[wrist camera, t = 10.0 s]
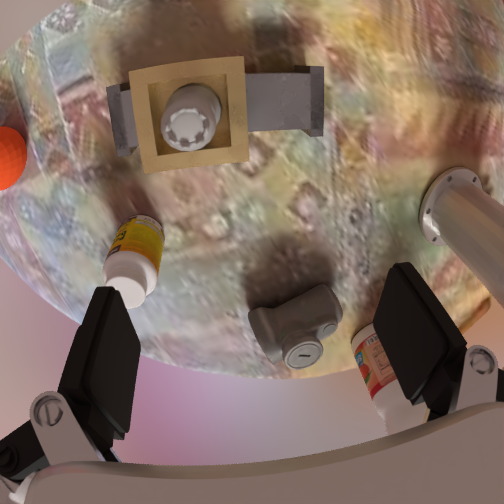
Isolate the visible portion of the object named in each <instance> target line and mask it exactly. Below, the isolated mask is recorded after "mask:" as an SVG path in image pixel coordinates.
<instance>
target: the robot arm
mask: <svg viewBox="0 0 504 504" xmlns="http://www.w3.org/2000/svg"><path fill="white" fill-rule="evenodd" d="M419 222H420V228H421V231H422V233H423V235H424V236H425V238H426V239H427V240H428V241H429V242H430V243H432V244H434V245H437V246H444V245H448V246H449V248H450V249H451V250H452V251H453V252H454V253H455V254H456V255H457V256H458V257H459V258H460V259H461V260H462V261H463V262H464V263H465V265H466V266H467V267H468V268H469V269H470V270H471V271H472V272H473V273H474V275H475V276H476V277H477V278H478V279H479V280H480V281H481V283H482V284H483V285H484V286H485V287H486V288H487V290H488V291H489V292H490V293H491V294H492V296H493V297H494V298H495V299H496V300H497V302H498V303H499V304H500V305H501V306H502V307H503V308H504V206H503V205H501V204H500V203H499V202H497V201H496V200H495V199H493V198H492V197H491V196H489V195H488V194H487V193H485V192H484V191H482V185H481V181H480V179H479V178H478V176H477V175H476V174H475V173H474V172H473V171H471V170H470V169H468V168H465V167H454V168H451V169H449V170H446V171H445V172H444V173H442V174H441V175H440V176H439V177H438V178H437V179H436V180H435V181H434V182H433V183H432V185H431V186H430V187H429V189H428V191H427V193H426V194H425V197H424V199H423V202H422V205H421V209H420V216H419ZM373 327H374V330H375V332H376V334H377V336H378V338H379V340H380V343H381V345H382V347H383V349H384V351H385V353H386V355H387V358H388V360H389V362H390V364H391V366H392V369H393V371H394V373H395V375H396V377H397V380H398V382H399V384H400V387H401V389H402V391H403V394H404V396H405V398H406V399H407V400H410V402H411V404H412V406H414V405H417V404H420V403H423V402H425V403H426V406H427V408H426V412H425V415H424V418H423V421H422V424H421V425H418V426H415V427H413V428H410V429H407V430H404V431H401V432H398V433H395V434H392V435H389V436H385V437H382V438H379V439H375V440H372V441H368V442H365V443H361V444H357V445H353V446H349V447H345V448H341V449H336V450H331V451H327V452H322V453H317V454H312V455H306V456H300V457H294V458H287V459H280V460H272V461H264V462H254V463H244V464H231V465H229V464H228V465H205V466H179V465H149V464H147V465H146V464H133V463H122V462H121V460H120V459H119V458H118V456H117V455H116V453H115V452H114V450H113V449H112V446H113V439H117V440H124V436H125V433H128V432H129V429H130V421H131V413H132V403H133V397H134V390H135V383H136V376H137V369H138V363H139V357H140V351H141V345H140V341H139V339H138V336H137V334H136V331H135V329H134V327H133V324H132V322H131V319H130V317H129V314H128V312H127V309H126V307H125V304H124V301H123V299H122V296H121V293H120V291H119V290H115V288H114V287H113V286H103V287H97V288H96V289H95V291H94V294H93V296H92V299H91V301H90V304H89V306H88V309H87V311H86V314H85V317H84V319H83V322H82V325H81V326H79V328H78V329H77V332H76V334H75V337H74V340H73V343H72V346H71V349H70V352H69V355H68V358H67V361H66V364H65V367H64V370H63V373H62V377H61V380H60V383H59V387H58V390H57V392H54V391H47V392H44V393H42V394H40V395H39V396H38V397H36V398H35V400H34V401H33V403H32V405H31V408H30V420H29V421H27V422H26V423H24V424H23V425H22V426H20V427H19V428H17V429H16V430H14V431H13V432H12V433H10V434H9V435H8V436H6V437H5V438H4V439H2V440H0V504H504V367H503V368H502V369H499V368H498V362H497V359H496V357H495V355H494V354H493V352H492V351H490V350H489V349H488V348H486V347H484V346H481V345H474V346H471V347H470V348H469V349H467V348H466V344H467V342H466V341H465V339H464V337H463V336H462V334H461V333H460V331H459V329H458V328H457V326H456V325H455V323H454V322H453V320H452V319H451V317H450V316H449V314H448V313H447V312H446V310H445V309H444V307H443V306H442V304H441V303H440V302H439V300H438V299H437V297H436V296H435V294H434V293H433V292H432V290H431V289H430V288H429V286H428V285H427V284H426V282H425V281H424V279H423V278H422V277H421V275H420V274H419V273H418V272H417V270H416V269H415V268H414V266H413V265H412V264H411V263H410V262H403V263H396V264H394V265H393V267H392V268H390V270H389V272H388V276H387V279H386V282H385V285H384V289H383V292H382V295H381V298H380V301H379V304H378V307H377V310H376V313H375V316H374V319H373Z"/></svg>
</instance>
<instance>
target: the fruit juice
mask: <svg viewBox="0 0 504 504" xmlns="http://www.w3.org/2000/svg"><path fill="white" fill-rule="evenodd" d="M351 348H352V352H353V354H354V357H355V359H356V362H357V364H358V366H359V369H360V371H361V373H362V376H363V378H364V381H365V383H366V386H367V388H368V391H369V393H370V396H371V398H372V401H373V404H374V406H375V408H376V410H377V412H378V414H379V415H380V416H381V417H382V418H383V419H384V421H385V426H386V435H387V436H389V435H392V434H395V433H398V432H401V431H404V430H407V429H410V428H413V427H415V426H418V425H421V424H422V421H423V418H424V415H425V412H426V408H427V406H426V403H425V402H423V403H420V404H417V405H414V406H412V404H411V402H410V400H407V399H406V398H405V396H404V394H403V391H402V389H401V387H400V384H399V382H398V380H397V377H396V375H395V373H394V371H393V369H392V366H391V364H390V362H389V360H388V358H387V355H386V353H385V351H384V349H383V347H382V345H381V343H380V340H379V338H378V336H377V334H376V332H375V330H374V327H373V323H371V324H369V325H367V326H366V327H364V328H363V329H362V330H360V331H359V332H358V333H357V334H356V335H355V337H354V338H353V340H352V344H351Z"/></svg>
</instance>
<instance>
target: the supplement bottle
mask: <svg viewBox="0 0 504 504" xmlns="http://www.w3.org/2000/svg"><path fill="white" fill-rule="evenodd" d="M164 240H165V236H164V231H163V229H162V227H161V225H160V224H159V223H158V222H157V221H156V220H154V219H153V218H151V217H148V216H144V215H135V216H132V217H129V218H128V219H126V220H125V221H124V222H123V223H122V225H121V226H120V228H119V230H118V233H117V235H116V237H115V239H114V242H113V244H112V246H111V248H110V251H109V253H108V255H107V258H106V260H105V262H104V266H103V278H104V281H105V286H113V287H114V288H115V290H119V291H120V293H121V296H122V299H123V301H124V304H125V307H126V308H127V309H130V308H136V307H138V306H140V305H141V304H142V303H143V302H144V300H145V297H146V295H148V294H149V293H151V292H152V291H153V289H154V288H155V286H156V283H157V278H158V273H159V267H160V262H161V257H162V251H163V246H164Z"/></svg>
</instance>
